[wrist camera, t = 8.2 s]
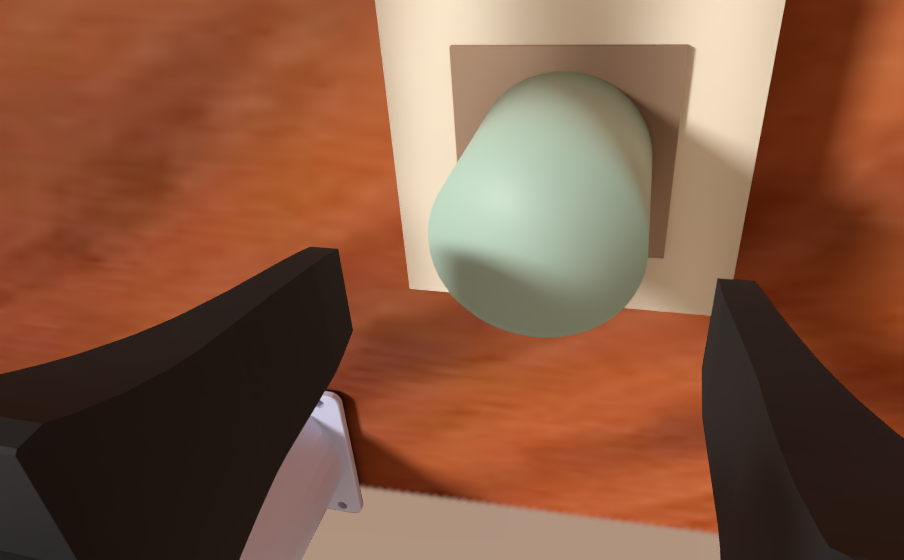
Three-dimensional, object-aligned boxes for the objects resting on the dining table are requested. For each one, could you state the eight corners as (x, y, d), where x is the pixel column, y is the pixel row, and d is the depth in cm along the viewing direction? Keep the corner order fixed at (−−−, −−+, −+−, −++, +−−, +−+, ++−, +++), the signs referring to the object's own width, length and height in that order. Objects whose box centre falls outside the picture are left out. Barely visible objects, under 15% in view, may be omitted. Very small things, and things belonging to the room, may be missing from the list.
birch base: (433, 244, 25) (407, 291, 23) (406, -53, 20) (368, -34, 17) (719, 265, 23) (726, 320, 20) (777, -67, 17) (796, -48, 15)
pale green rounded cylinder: (480, 228, 21) (436, 326, 17) (473, 69, 18) (418, 140, 14) (644, 239, 20) (638, 348, 16) (661, 72, 17) (659, 150, 13)
